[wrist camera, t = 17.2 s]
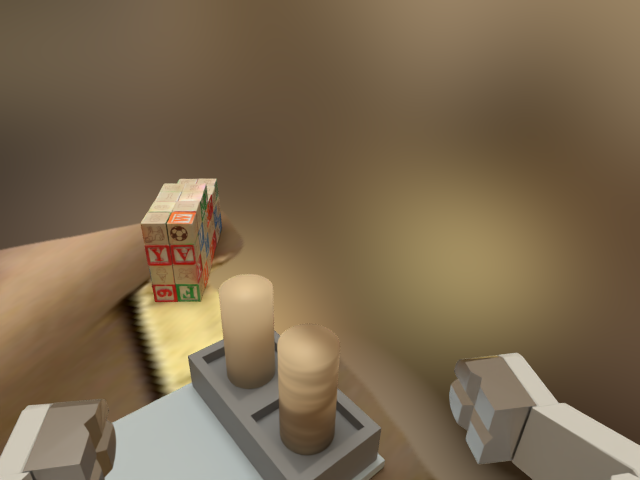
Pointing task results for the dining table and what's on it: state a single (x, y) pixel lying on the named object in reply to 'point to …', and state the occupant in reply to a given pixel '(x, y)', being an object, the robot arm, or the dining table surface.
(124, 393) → the dining table surface
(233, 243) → the dining table surface
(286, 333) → the beech post
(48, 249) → the dining table surface
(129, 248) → the dining table surface
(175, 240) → the stack of blocks
